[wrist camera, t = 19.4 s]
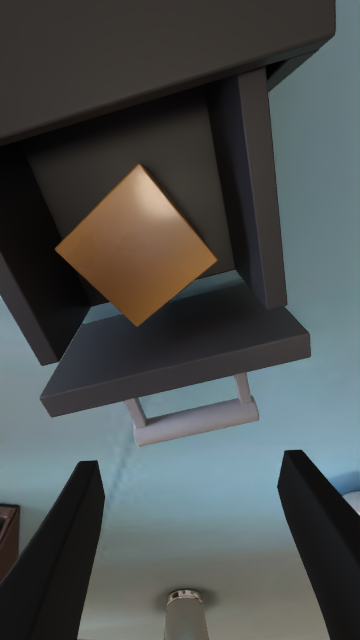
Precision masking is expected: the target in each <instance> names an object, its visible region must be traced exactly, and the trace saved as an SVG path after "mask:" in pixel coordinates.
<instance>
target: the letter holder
mask: <svg viewBox="0 0 360 640" xmlns="http://www.w3.org/2000/svg"><path fill="white" fill-rule="evenodd" d="M18 518H19V506H17V505H16V506H5V505H0V582H1V581H2V580H3V578H4V577H5V576H6V574H7V573H8V572H9V570H10V569H11V567H12V566H13V565H14V563H15V562H16V560H17V559H18Z"/></svg>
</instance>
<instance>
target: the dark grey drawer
mask: <svg viewBox="0 0 360 640" xmlns="http://www.w3.org/2000/svg"><path fill="white" fill-rule="evenodd" d="M137 163H141V164H142V165H144V166H145V167H147V168H148V169H149V171H150V172H151V173H152V174H153V176H154V177H155V178H156V179H157V181H158V182H159V183H160V184H161V186H162V187H163V188H164V189H165V191H166V192H167V193H168V194H169V195H170V197H171V198H172V199H173V200H174V202H175V203H176V204H177V205H178V207H179V208H180V209H181V210H182V212H183V213H184V214H185V215H186V217H187V218H188V219H189V220H190V222H191V223H192V224H193V225H194V227H195V228H196V229H197V230H198V232H199V233H200V234H201V235H202V237H203V238H204V239H205V241H206V242H207V244H208V245H209V247H210V248H211V250H212V251H213V253H214V254H215V256H216V257H217V259H218V261H217V262H216V263H214V264H213V265H212V266H211V267H210V268H208V269H207V270H206V271H205V272H203V273H202V274H201V275H200V276H199V277H197V278H196V279H195V280H197V279H201V278H204V277H208V276H212V275H216V274H220V273H224V272H228V271H231V270H236V271H237V272H238V274H239V275H240V276H241V277H242V279H243V280H244V281H245V282H246V283H243V284H239V285H235V286H231V287H228V288H224V289H220V290H216V291H212V292H208V293H204V294H200V295H196V296H192V297H188V298H184V299H180V300H177V301H173V302H169V303H166V304H165V305H163V306H162V307H161V308H160V309H159V310H157V311H156V312H155V313H154V314H152V315H151V316H150V317H149V318H148V319H146V320H145V321H144V322H143V323H141V324H140V325H139V326H135V325H134V324H133V323H132V322H131V321H130V320H129V319H128V318H127V317H126V316H125V315H124V314H122V315H118V316H114V317H110V318H106V319H102V320H98V321H94V322H90V323H86V324H82V322H83V320H84V318H85V317H86V315H87V313H88V311H89V310H90V308H91V307H92V306H96V305H100V304H104V303H108V302H110V301H109V300H108V299H106V298H105V297H104V296H103V295H102V294H101V293H100V292H99V291H98V290H97V289H96V288H95V287H94V286H93V285H92V284H90V283H89V282H88V281H87V280H86V279H85V278H84V277H83V276H82V275H81V274H80V273H79V272H78V271H77V270H76V269H74V268H73V267H72V266H71V265H70V264H69V263H68V262H67V261H66V260H65V259H64V258H63V257H62V256H61V255H60V254H58V253H57V252H56V251H55V247H56V246H57V245H58V244H59V243H60V242H61V241H62V240H63V239H64V238H65V237H66V236H67V235H68V234H69V233H70V232H71V231H72V230H73V229H74V228H75V227H76V226H77V225H78V224H79V223H80V222H81V221H82V220H83V219H84V218H85V217H86V216H87V215H88V214H89V213H90V212H91V211H92V210H93V209H94V208H95V206H96V205H97V204H98V203H99V202H100V201H101V200H102V199H103V198H104V197H105V196H106V195H107V194H108V193H109V192H110V191H111V190H112V189H113V188H114V187H115V186H116V185H117V184H118V183H119V182H120V181H121V180H122V179H123V178H124V177H125V176H126V175H127V174H128V173H129V172H130V171H131V170H132V169H133V168H134V167H135V166H136V164H137ZM0 295H1V297H2V299H3V300H4V302H5V304H6V305H7V307H8V309H9V311H10V312H11V314H12V316H13V318H14V319H15V321H16V323H17V324H18V326H19V328H20V330H21V331H22V333H23V335H24V337H25V338H26V340H27V342H28V343H29V345H30V347H31V349H32V350H33V352H34V354H35V356H36V357H37V359H38V361H39V362H40V364H41V366H44V365H48V364H52V363H56V362H59V361H60V360H61V361H60V363H59V364H58V366H57V368H56V370H55V371H54V373H53V375H52V377H51V378H50V380H49V382H48V383H47V385H46V387H45V389H44V390H43V392H42V394H41V396H40V400H41V402H42V404H43V405H44V407H45V409H46V410H47V412H48V413H49V415H50V417H57V416H61V415H65V414H69V413H74V412H78V411H82V410H86V409H91V408H95V407H99V406H104V405H108V404H112V403H116V402H121V401H124V402H125V404H126V407H127V409H128V411H129V413H130V416H131V418H132V420H133V422H134V438H135V441H136V444H137V445H138V446H139V447H141V446H145V445H150V444H154V443H159V442H163V441H168V440H173V439H177V438H182V437H186V436H191V435H195V434H200V433H204V432H209V431H213V430H218V429H222V428H227V427H231V426H236V425H240V424H245V423H249V422H254V421H258V420H259V413H258V409H257V406H256V402H255V400H254V397H253V396H252V395H250V390H249V384H248V379H247V374H246V372H249V371H253V370H258V369H262V368H266V367H271V366H275V365H279V364H283V363H288V362H292V361H296V360H301V359H305V358H309V357H311V348H310V334H309V332H308V331H307V330H306V329H305V328H304V327H303V326H302V325H301V324H300V323H299V322H298V321H297V319H296V318H295V317H294V316H293V315H292V314H291V313H290V312H289V311H288V310H287V309H286V308H285V307H284V306H287V294H286V283H285V272H284V261H283V250H282V239H281V228H280V217H279V206H278V195H277V184H276V174H275V163H274V152H273V141H272V130H271V119H270V108H269V97H268V86H267V75H266V65H265V66H262V67H258V68H255V69H252V70H249V71H245V72H242V73H239V74H236V75H232V76H229V77H226V78H222V79H219V80H216V81H213V82H209V83H206V84H203V85H200V86H196V87H193V88H190V89H186V90H183V91H180V92H177V93H173V94H170V95H167V96H164V97H160V98H157V99H154V100H150V101H147V102H144V103H141V104H137V105H134V106H131V107H128V108H124V109H121V110H118V111H114V112H111V113H108V114H105V115H101V116H98V117H95V118H92V119H88V120H85V121H82V122H78V123H75V124H72V125H69V126H65V127H62V128H59V129H56V130H52V131H49V132H46V133H42V134H39V135H36V136H33V137H29V138H26V139H23V140H20V141H16V142H13V143H10V144H6V145H3V146H0ZM81 324H82V325H81ZM80 325H81V326H80ZM79 327H80V328H79ZM78 329H79V330H78ZM77 330H78V331H77ZM76 332H77V333H76ZM75 334H76V335H75ZM74 336H75V337H74ZM73 337H74V338H73ZM72 339H73V340H72ZM71 341H72V342H71ZM70 342H71V344H70ZM69 344H70V345H69ZM68 346H69V347H68ZM67 348H68V349H67ZM66 349H67V351H66ZM65 351H66V352H65ZM64 353H65V354H64ZM63 355H64V356H63ZM62 356H63V357H62ZM61 358H62V359H61ZM232 375H234V377H235V382H236V387H237V391H238V396H239V398H236V399H232V400H228V401H223V402H219V403H214V404H210V405H206V406H201V407H197V408H193V409H188V410H184V411H179V412H175V413H171V414H166V415H162V416H157V417H153V418H149V419H147V418H146V416H145V413H144V411H143V409H142V406H141V404H140V401H139V399H138V397H142V396H146V395H151V394H155V393H159V392H164V391H168V390H172V389H176V388H181V387H185V386H189V385H193V384H198V383H202V382H206V381H211V380H215V379H219V378H223V377H228V376H232Z"/></svg>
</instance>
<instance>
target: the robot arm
mask: <svg viewBox="0 0 360 640" xmlns="http://www.w3.org/2000/svg"><path fill="white" fill-rule="evenodd" d="M277 488H278V492H279V496H280V500H281V503H282V507H283V510H284V514H285V517H286V520H287V523H288V526H289V528H290V531H291V533H292V536H293V539H294V541H295V544H296V546H297V549H298V551H299V554H300V557H301V559H302V562H303V564H304V567H305V569H306V572H307V575H308V577H309V580H310V582H311V585H312V587H313V590H314V592H315V595H316V598H317V600H318V603H319V606H320V609H321V612H322V614H323V617H324V620H325V624H326V627H327V630H328V633H329V637H330V640H360V515H359V514H358V513H357V512H356V511H355V510H354V509H353V508H352V506H351V505H350V504H349V503H348V502H347V501H346V500H345V499H344V498H343V497H342V496H341V494H340V493H339V492H338V491H337V490H336V489H335V488H334V487H333V485H332V484H331V483H330V482H329V481H328V480H327V479H326V477H325V476H324V475H323V474H322V473H321V472H320V470H319V469H318V468H317V467H316V466H315V465H314V463H313V462H312V461H311V460H310V459H309V457H308V456H307V455H306V454H305V453H304V452H303V451H302V450H285V452H284V456H283V461H282V466H281V471H280V475H279V480H278V485H277ZM104 501H105V494H104V489H103V484H102V480H101V475H100V470H99V465H98V461H97V460H94V461H80V462H79V463H78V464H77V465H76V467H75V469H74V471H73V473H72V474H71V476H70V478H69V480H68V481H67V483H66V485H65V487H64V488H63V490H62V492H61V493H60V495H59V497H58V498H57V500H56V502H55V503H54V505H53V506H52V508H51V510H50V511H49V513H48V514H47V516H46V517H45V519H44V520H43V522H42V524H41V525H40V527H39V528H38V530H37V531H36V533H35V534H34V536H33V537H32V539H31V540H30V542H29V543H28V545H27V546H26V547H25V549H24V550H23V552H22V553H21V555H20V556H19V557H18V559H17V560H16V562H15V563H14V565H13V566H12V567H11V569H10V570H9V572H8V573H7V574H6V576H5V577H4V578H3V580H2V581H1V582H0V640H77V636H78V631H79V625H80V620H81V615H82V611H83V606H84V602H85V598H86V593H87V589H88V584H89V580H90V576H91V571H92V567H93V563H94V558H95V554H96V549H97V545H98V540H99V536H100V531H101V524H102V517H103V509H104Z"/></svg>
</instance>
